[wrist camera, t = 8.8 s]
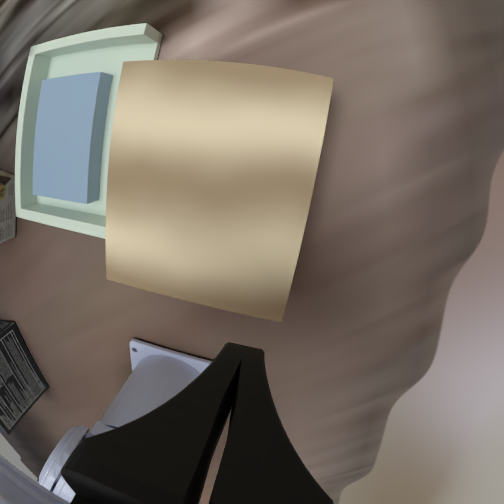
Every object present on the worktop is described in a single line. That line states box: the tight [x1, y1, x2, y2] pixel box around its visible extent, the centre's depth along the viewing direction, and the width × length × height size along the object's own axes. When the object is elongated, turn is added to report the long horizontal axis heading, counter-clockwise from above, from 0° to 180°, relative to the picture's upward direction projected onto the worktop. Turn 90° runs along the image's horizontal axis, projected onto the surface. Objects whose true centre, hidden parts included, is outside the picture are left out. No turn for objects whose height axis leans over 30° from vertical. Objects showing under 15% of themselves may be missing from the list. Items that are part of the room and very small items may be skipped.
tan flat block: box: [106, 60, 334, 322], centre depth 17 cm, size 13×11×4 cm
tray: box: [15, 23, 163, 239], centre depth 17 cm, size 14×11×2 cm
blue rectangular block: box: [33, 72, 113, 204], centre depth 17 cm, size 9×6×2 cm, turn 170°
